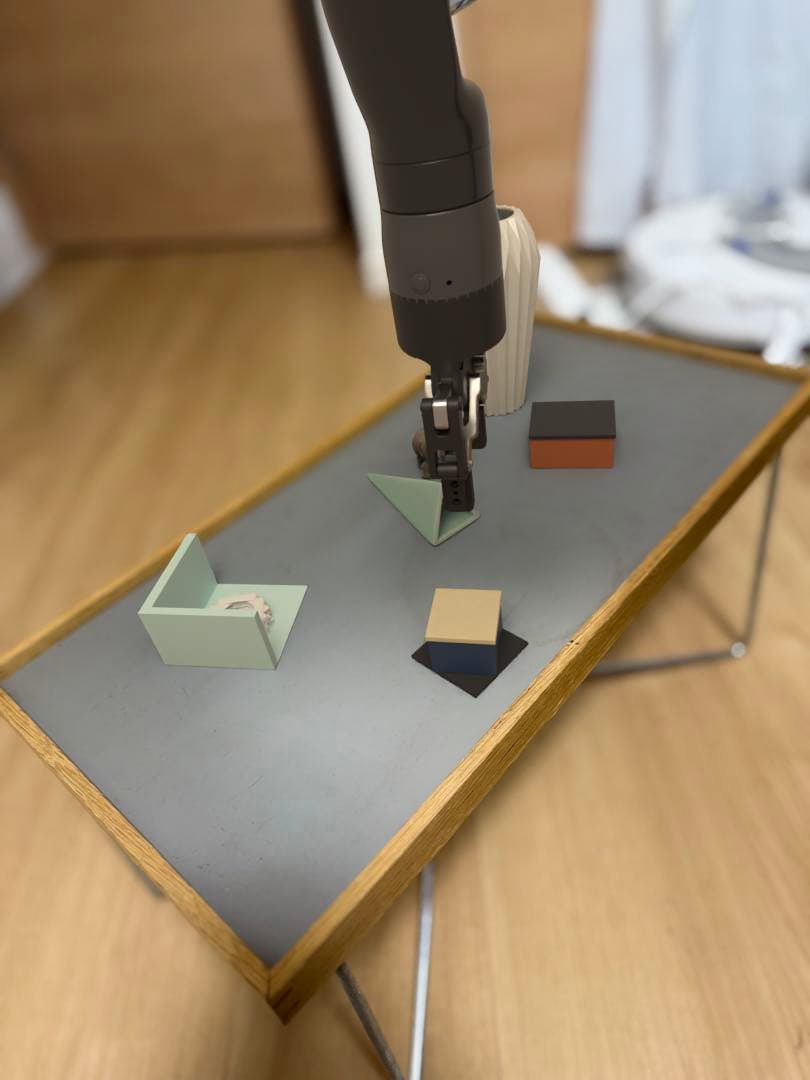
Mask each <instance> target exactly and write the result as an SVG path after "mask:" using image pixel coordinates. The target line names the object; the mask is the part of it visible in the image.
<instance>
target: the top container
mask: <svg viewBox="0 0 810 1080" xmlns="http://www.w3.org/2000/svg"><path fill="white" fill-rule="evenodd" d="M502 596H503V592H502V590H496V589H470V588H442V587H441V588H440V587H436V588H435V591H434V594H433V598H432V604H431V606H430V607H431V608H430V612H429V617H428V621H427V625H426V630H425V632H424V633H425V634H424V640H425V642H426V641H428V646H429V652H430V657H431V663H432V669H433V671H434V672H433V671H432V672H433V673H435V672H449V673H464V674H480V675H495V676H496V675H497V669H498V661H499V653H500V644H501V636H502V628H503V615H502V614H503V613H502Z"/></svg>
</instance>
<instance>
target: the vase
mask: <svg viewBox="0 0 810 1080" xmlns="http://www.w3.org/2000/svg"><path fill="white" fill-rule="evenodd" d="M496 207H497V212H498V217H499V222H500V230H501V243H502V261H503V277H504V293H505V309H506V326H507V327H506V332H505V335H504V337H503V338H502V340H501V341H500V342H499V343H498V344H497V345H496V346H494V347H493V348H492V349H490V350H488V351H486V352H485V355H486V360H487V376H489V382H488V390H487V400H486V403H485V404H480V406H484V410H485V416H487V418H488V417H491V416H494V417H495V418H497V417H499V416H500V415H501V416H504V417H505V416H507V414H514V411H519V410H520V408H521V407H523V406H524V403H525V400H526V393H527V392H526V391H527V382H528V375H529V365H530V357H531V356H530V355H531V348H532V340H533V339H532V338H533V330H534V321H535V312H536V302H537V297H538V296H537V294H538V285H539V277H540V270H541V269H540V267H541V266H540V265H541V260H542V259H541V258H542V257H541V254H540V250H539V247H538V242H537V240H536V236H535V235H536V234H535V231H534V229H533V228H532V227H533V226H531V224H530V222H529V221H528V219H527V218H526V216H525V214H524V212H523V211H522V210H521V208H519V207H515V205H509V206H508V205H507V204H502V205H498V204H496Z"/></svg>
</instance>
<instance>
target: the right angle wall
mask: <svg viewBox="0 0 810 1080" xmlns="http://www.w3.org/2000/svg"><path fill="white" fill-rule="evenodd" d="M207 557H208V556H207V554H206V552H205V550H204V547H203V545H202V543H201V541H200V539H199V536H198V533H190V532H189V533H187V534H186V535H185V537H184V538H183V540H182V542H181V544H180V545H179V547H178V548H177V550H176V551H175V553H174V555H173V556H172V558H171V560H170V561H169V563H168V564H167V565H166V568H165V569H164V571H163V572H162V574H161V576H160V577H159V578H158V580H157V581H156V583H155V584H154V587H153V588H152V590H151V591H150V593H149V594H148V596H147V598H146V599H145V601H144V602H143V604H142V606H141V607H140V609H139V610H138V612H137V615H138V617H139V619H140V621H141V623H142V624H143V626H144V628H145V630H146V632H147V634H148V635H149V637H150V639H151V641H152V643H153V644H154V647H155V648H156V650H157V652H158V654H159V656H160V658H161V660H162V662H163V663H164V665H166V666H181V667H182V666H183V667H207V668H225V669H227V668H228V669H245V670H246V669H247V670H248V669H249V670H269V671H275V670H276V668H277V666H278V664H279V661H280V658H281V656H282V653H283V650H284V649H285V646H286V643H287V640H288V638H289V635H290V632H291V630H292V629H293V625H294V622H295V620H296V617H297V615H298V612H299V610H300V607H301V605H302V603H303V600H304V597H305V594H306V592H307V589H308V587H309V586H308V585H303V584H302V585H301V584H299V585H298V584H295V585H294V584H293V585H292V584H291V585H290V584H249V583H248V584H247V583H246V584H245V583H243V584H242V583H218V580H217V579H216V576H215V574H214V572H213V569H212V567H211V564H210V562H209V560H208V558H207Z"/></svg>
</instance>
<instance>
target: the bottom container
mask: <svg viewBox="0 0 810 1080" xmlns="http://www.w3.org/2000/svg"><path fill="white" fill-rule="evenodd" d="M615 406H616V404H615V400H614V399H601V400H600V399H599V400H596V399H595V400H566V401H565V400H560V401H559V400H558V401H555V400H554V401H532V403H531V410H530V418H529V425H528V426H529V427H528V437H527V438H528V440H529V444H530V447H529V448H530V469H613V468H614V467H613V466H614V465H613V464H614V452H615V451H614V449H615V439H617V423H616V422H617V421H616V407H615Z"/></svg>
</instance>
